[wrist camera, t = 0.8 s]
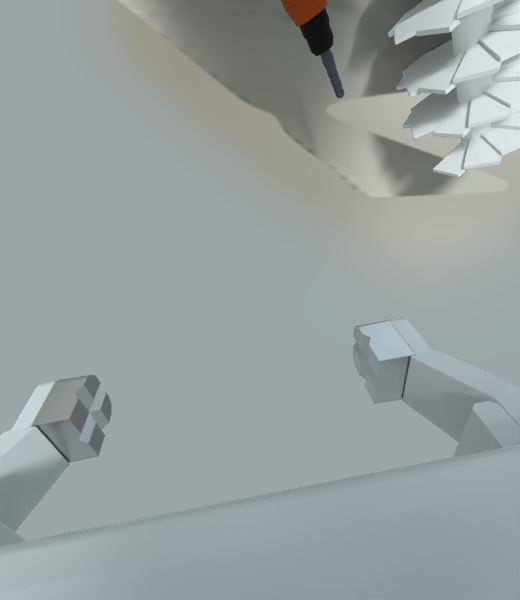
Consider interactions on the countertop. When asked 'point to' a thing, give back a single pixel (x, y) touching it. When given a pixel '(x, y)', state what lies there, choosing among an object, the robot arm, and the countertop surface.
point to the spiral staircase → (466, 78)
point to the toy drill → (316, 33)
